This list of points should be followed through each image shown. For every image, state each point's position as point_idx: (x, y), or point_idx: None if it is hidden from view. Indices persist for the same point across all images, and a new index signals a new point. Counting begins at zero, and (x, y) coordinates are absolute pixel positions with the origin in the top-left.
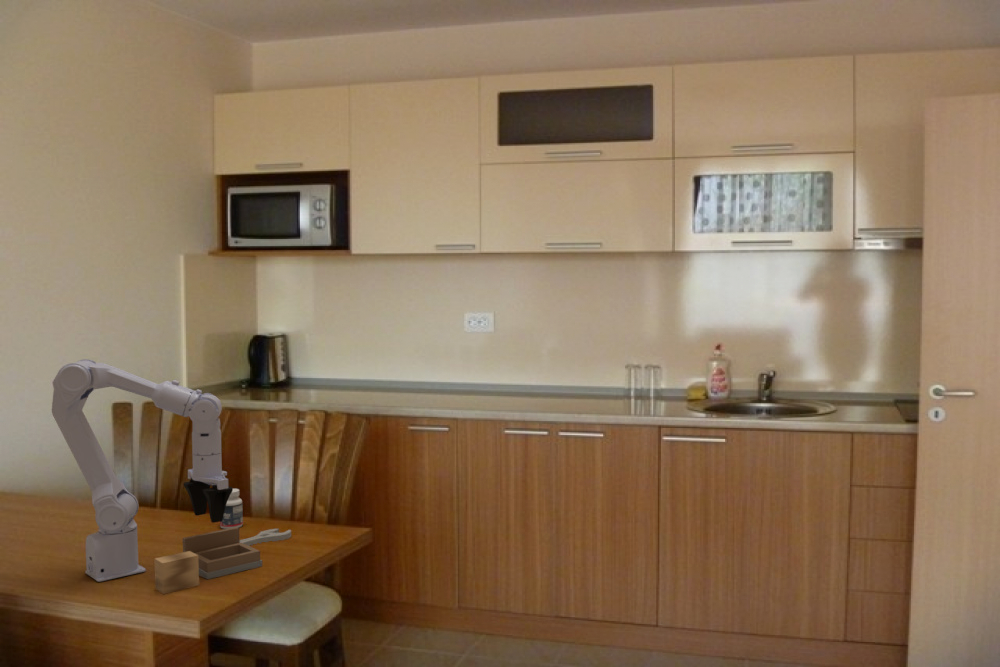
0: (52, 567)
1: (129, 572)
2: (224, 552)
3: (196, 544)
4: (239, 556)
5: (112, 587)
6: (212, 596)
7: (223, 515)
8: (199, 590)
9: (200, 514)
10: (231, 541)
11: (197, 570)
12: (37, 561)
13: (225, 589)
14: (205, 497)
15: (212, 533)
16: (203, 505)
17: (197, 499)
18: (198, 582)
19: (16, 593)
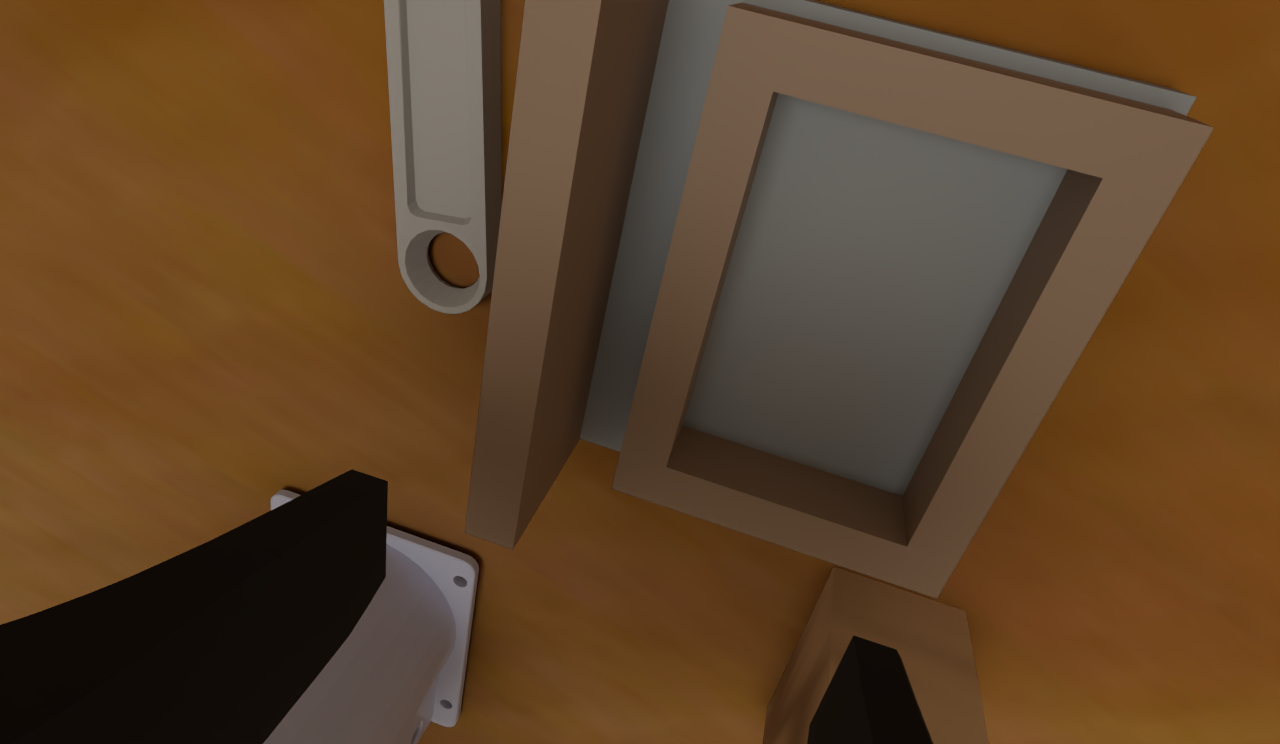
0: None
1: (457, 625)
2: (733, 237)
3: (552, 427)
4: (1076, 358)
5: (567, 738)
6: (1223, 721)
7: (915, 704)
8: (1046, 671)
9: (385, 542)
10: (630, 77)
11: (976, 699)
12: (8, 604)
13: (1226, 617)
14: (196, 646)
15: (548, 321)
16: (304, 584)
17: (220, 735)
18: (967, 628)
19: None
